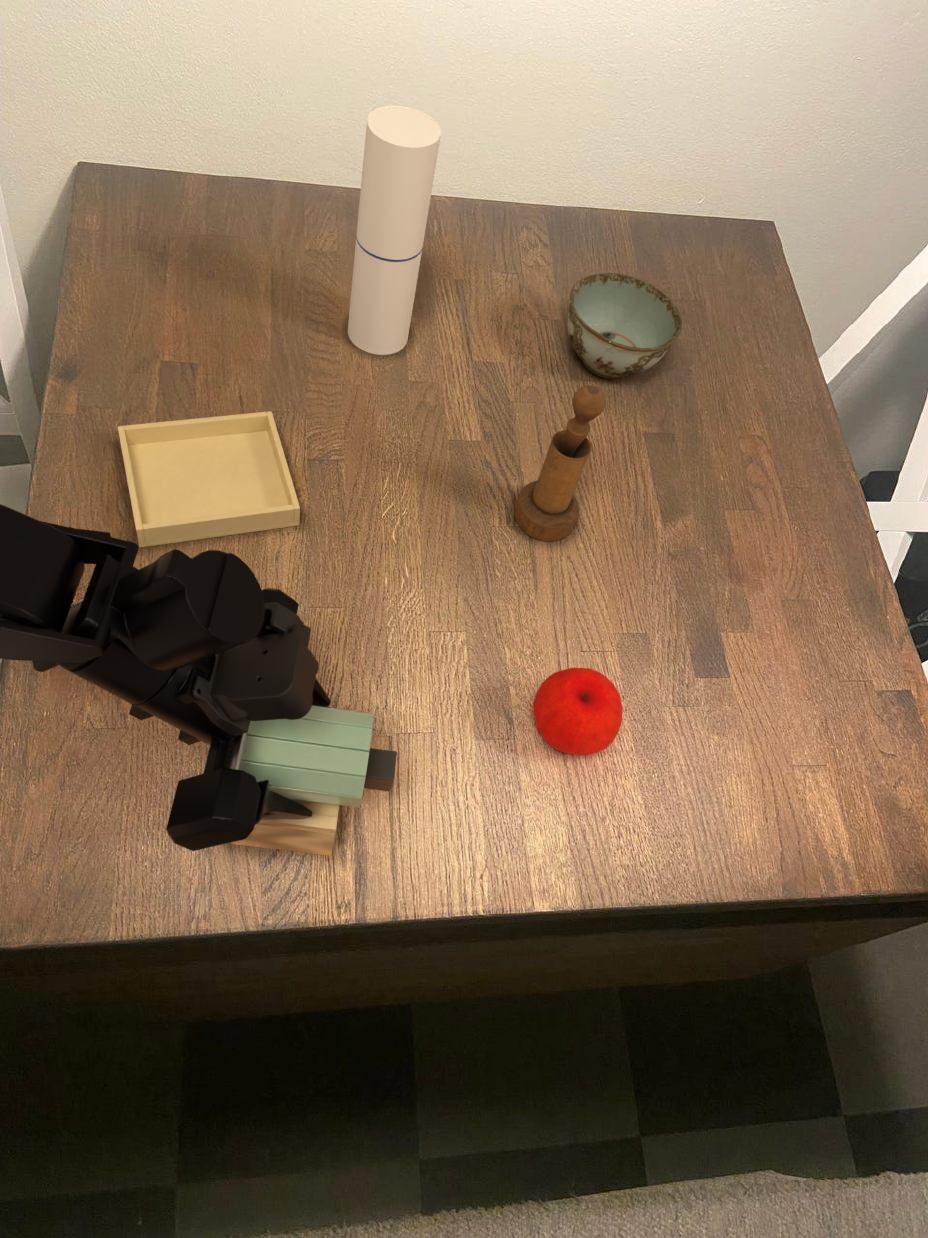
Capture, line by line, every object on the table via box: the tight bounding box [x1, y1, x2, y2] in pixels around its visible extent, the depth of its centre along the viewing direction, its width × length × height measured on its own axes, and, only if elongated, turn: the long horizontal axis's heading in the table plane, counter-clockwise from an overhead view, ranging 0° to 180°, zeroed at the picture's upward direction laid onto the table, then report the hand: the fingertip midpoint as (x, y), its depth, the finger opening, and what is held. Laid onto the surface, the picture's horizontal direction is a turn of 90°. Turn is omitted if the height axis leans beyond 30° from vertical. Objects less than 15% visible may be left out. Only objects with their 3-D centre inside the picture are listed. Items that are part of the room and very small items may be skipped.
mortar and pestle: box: [513, 384, 606, 543], centre depth 90 cm, size 7×6×18 cm
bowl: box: [566, 272, 683, 379], centre depth 110 cm, size 14×13×8 cm
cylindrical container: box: [347, 105, 442, 356], centre depth 98 cm, size 7×7×25 cm
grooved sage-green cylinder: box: [239, 705, 375, 808], centre depth 68 cm, size 11×7×7 cm, turn 86°
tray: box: [117, 410, 301, 548], centre depth 90 cm, size 15×13×3 cm
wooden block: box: [230, 799, 340, 857], centre depth 73 cm, size 8×10×6 cm
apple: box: [532, 667, 624, 756], centre depth 80 cm, size 8×8×7 cm
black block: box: [364, 747, 398, 792], centre depth 70 cm, size 6×2×2 cm, turn 87°
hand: (317, 758), depth 70 cm, fingers open, 9 cm apart
